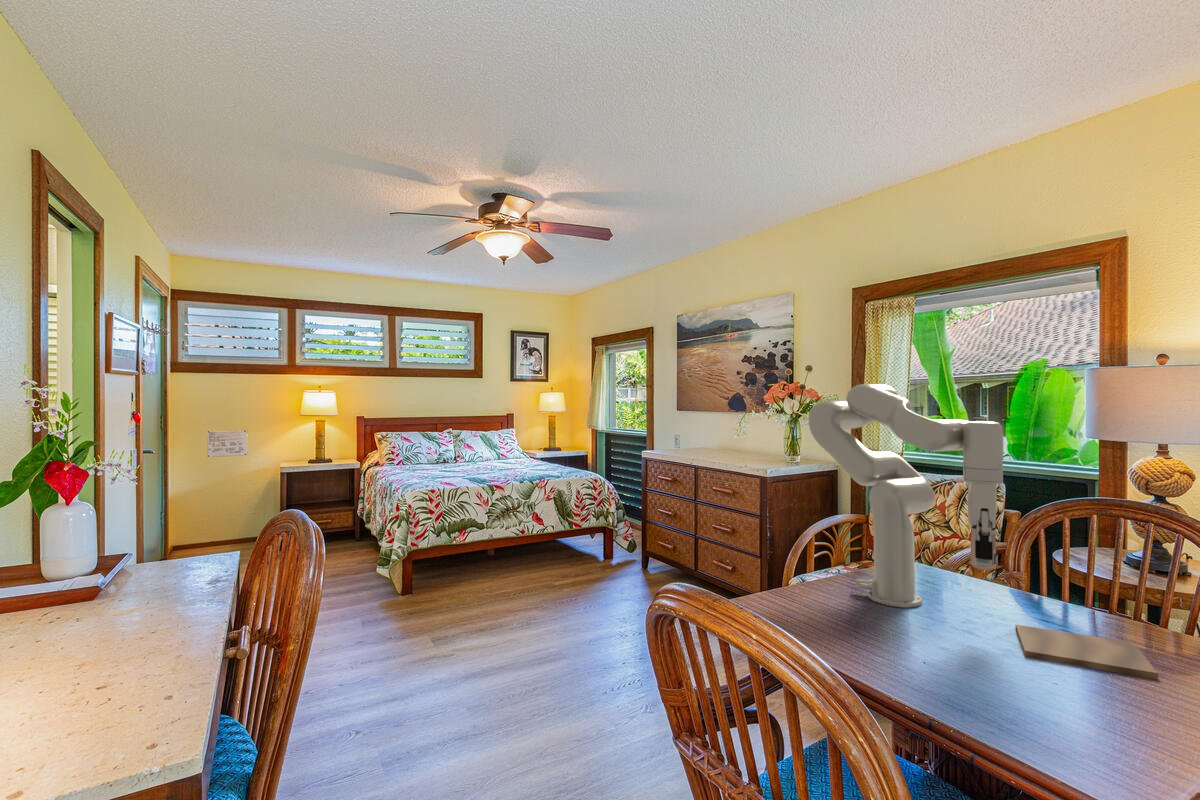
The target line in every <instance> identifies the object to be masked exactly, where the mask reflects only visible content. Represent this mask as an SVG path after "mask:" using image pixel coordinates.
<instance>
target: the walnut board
mask: <svg viewBox="0 0 1200 800" xmlns="http://www.w3.org/2000/svg"><path fill="white" fill-rule="evenodd" d="M1015 632H1016V635H1017V638H1018V641H1019V643H1020V646H1021V649H1022V652H1023V654H1024V657H1025V658H1032V659H1036V660H1042V661H1049V662H1053V663H1060V664H1066V665H1072V666H1077V667H1083V668H1088V669H1095V670H1101V671H1104V672H1105V671H1106V672H1111V673H1112V672H1113V673H1118V674H1124V675H1129V676H1135V677H1141V678H1146V679H1152V680H1159V672H1158V671H1157V670H1156V669H1155V667H1154V666H1153V665H1152V664H1151V663H1150V661H1149V660H1148V659H1147V658H1146V656H1145V654H1143V653H1142V652H1141V651H1140V649H1139V648H1138V647H1137V646H1136V645H1135V643H1134V642H1132V641H1126V640H1121V639H1120V640H1119V639H1113V638H1107V637H1106V638H1105V637H1102V636H1101V637H1100V636H1093V635H1087V634H1081V633H1073V632H1067V631H1062V630H1061V631H1060V630H1054V629H1047V628H1041V627H1034V626H1027V625H1023V624H1022V625H1020V624H1015Z"/></svg>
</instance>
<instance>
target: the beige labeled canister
mask: <svg viewBox="0 0 1200 800" xmlns="http://www.w3.org/2000/svg"><path fill="white" fill-rule="evenodd" d="M991 524H992V522H991ZM979 526H980V527H982V526H981V524H979ZM988 527H989V525H988ZM991 527H992V526H991ZM991 533H992V542H993V559H992V560H987V559H978V558H976V557H975V540H977V529H976V525H973V527H971V526H970V565H971V566H972V567H973V568H975V569H977V570H983V571H993V570H994V569H997V522H996V523H995V527H994V528H993V529H992V530H991Z"/></svg>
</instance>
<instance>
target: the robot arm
mask: <svg viewBox="0 0 1200 800" xmlns="http://www.w3.org/2000/svg"><path fill="white" fill-rule="evenodd" d="M874 422H876V423H879V424H881V425H883V426H885V427H887V428H889V429H890V430H891V431H892V433H893V434H894V435H895V436H896V437H897V438H899V439H900V440H901V441H903V442H905V443H908V444H910V445H912V446H914V447H916V448H918V449H921V450H924V451H926V452H927V451H928V452H932V453H933V452H935V453H936V452H937V453H938V452H939V453H940V452H955V451H962V455H963V458H962V460H963V461H962V463H963V464H962V467H963V469H962V473H963V474H962V477H963V482H965V483H968V487H967V523H968V525H969V526H970V528H971V527H973V525H976V529H977V540H975V557H976V558H978V559H987V560H992V559H993V542H992V533H991V530H992V529H993V528H994V527H995V523H996V524H997V506H998V505H997V502H998V499H997V496H998V495H997V492H998V491H997V490H998V489H997V486H998V485H1001V484H1004V469H1003V468H1004V467H1003V466H1004V462H1003V461H1004V449H1003V448H1004V438H1003V437H1004V436H1003V435H1004V432H1003V425H1002V424H1001V423H1000V422H996V421H989V420H988V421H987V420H986V421H984V420H982V421H981V420H980V421H978V420H977V421H971V420H970V421H969V420H965V419H950V418H949V419H932V418H929V417H925V416H923V415H921V414H918V413H915V412H913V405H912V403H911V402H910V400H909V399H907V398H905V397H902V396H900V395H899V394H898V392H897V391H896V390H895V389H894V388H893V387H892V386H890V385H888V384H885V383H883V384H882V383H877V384H875V383H861V384H857V385H854V386H852V388H850V389H849V391H848V392H847V394H846V399H845V400H843V399H842V400H841V399H839V400H835V399H834V400H824V401H820V402H818V403H816V404H814V405H813V406H812V407H811V409H810V411H809V415H808V427H809V431H810V434H811V435H812V437H813V439H814V440H815V441H816V442H817V444H818V445H819V446H820V447H821V448H822V449H823V450H824V451H826V453H828V454H829V455H830V456H831V457H832V458H833V459H834V460H835V462H836V463H837V464H838V465H839V466H840V467H841V468H842V469H843V470H844V471H845V472H846V473H847V475H849V477H851V479H852V480H853V481H855V483H857V484H858V485H860V486H863V487H871V488H870V491H869V495H868V500H869V506H870V509H871V510H870V511H871V516H872V524H873V560H874V561H873V567H874V570H873V571H874V572H873V573H874V574H873V579H869V580H865V579H861V578H856V581H855V583H856V587H860V588H859V589H865V590H868V592H867V596H868V598H869V599H870V600H871V601H873V602H875V603H877V602H878V604H880V603H881V604H880V605H884V604H885V605H884V606H888V605H889V606H888V607H894V606H895V608H916V607H919V606H921V605H922V604H923V599H922V597H921V596H920V595H919V594H916V572H915V571H916V567H915V565H916V564H915V563H916V561H915V559H916V558H915V557H916V556H915V553H916V552H915V551H916V550H915V531H914V527H913V524H912V522H911V520H910V517H909V515H913V514H921V513H924V512H927V511H929V510H930V509H931V508H932V507H933V506H934V503H935V501H936V500H935V499H936V495H935V492H934V489H933V487H932V485H931V484H930V483H929V482H928V481H927V480H926V478H925V477H923V476H922V474H920V473H919V472H918V470H916V469H914V467H913V466H912V465H911V464H910V463H909V462H907V460H905V458H903V457H901V456H900V455H899V454H897V453H896V452H893V451H890V450H889V451H888V450H871V449H869V448H868V447H866V446H865V445H864V444H862V442H861V441H860V440H859V439H858V438H857V437H856V436H854V435H853V434H851V433H849V432H848V431H846V430H852V429H859V428H862V427H864V426H867V425H868V424H871V423H874ZM845 429H846V430H845ZM991 522H992V524H991ZM979 524H981V526H982V527H980V526H979ZM988 525H989V527H988ZM991 526H992V527H991Z"/></svg>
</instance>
